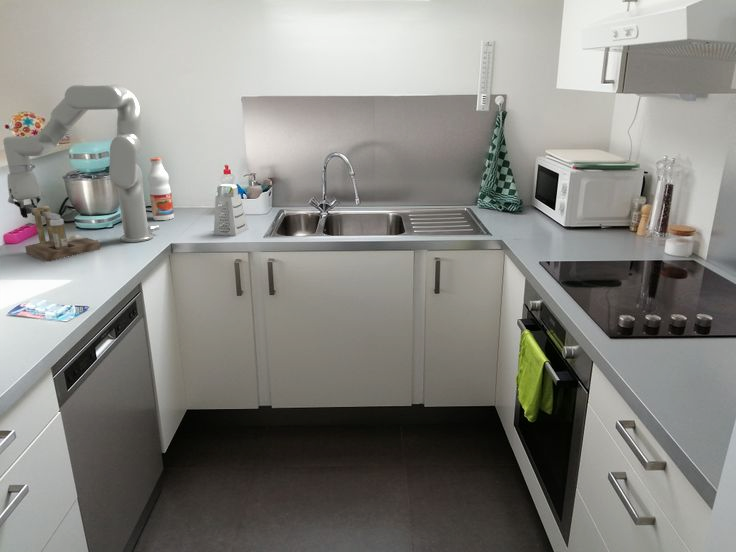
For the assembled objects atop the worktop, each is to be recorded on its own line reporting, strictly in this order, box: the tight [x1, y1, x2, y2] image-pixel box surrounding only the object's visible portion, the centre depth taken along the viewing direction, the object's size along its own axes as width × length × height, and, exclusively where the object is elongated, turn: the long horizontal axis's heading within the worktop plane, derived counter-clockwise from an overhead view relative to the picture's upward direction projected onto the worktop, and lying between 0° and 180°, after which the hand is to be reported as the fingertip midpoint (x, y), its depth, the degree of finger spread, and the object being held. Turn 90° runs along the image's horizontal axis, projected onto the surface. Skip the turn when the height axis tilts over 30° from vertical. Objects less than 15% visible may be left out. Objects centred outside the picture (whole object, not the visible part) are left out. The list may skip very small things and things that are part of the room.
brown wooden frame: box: [24, 205, 101, 262], centre depth 223 cm, size 20×17×16 cm
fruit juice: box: [147, 157, 175, 221], centre depth 270 cm, size 9×9×28 cm
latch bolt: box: [24, 203, 62, 220], centre depth 224 cm, size 3×26×3 cm, turn 52°
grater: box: [213, 183, 249, 237], centre depth 247 cm, size 10×10×20 cm
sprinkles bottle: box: [50, 218, 68, 250], centre depth 220 cm, size 5×5×14 cm
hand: (30, 216), depth 232 cm, fingers closed on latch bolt, 3 cm apart
